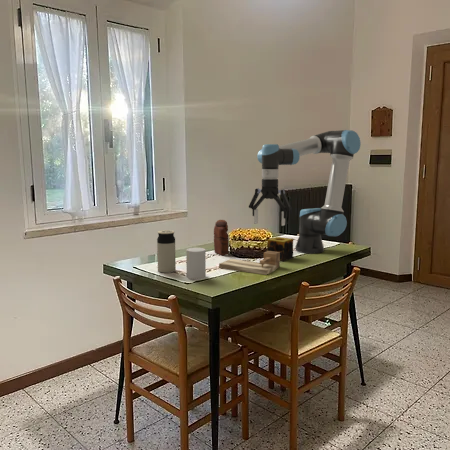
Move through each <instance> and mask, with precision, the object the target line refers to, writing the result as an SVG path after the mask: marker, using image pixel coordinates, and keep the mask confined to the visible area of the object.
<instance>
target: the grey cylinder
mask: <svg viewBox="0 0 450 450" xmlns="http://www.w3.org/2000/svg"><path fill="white" fill-rule="evenodd" d="M206 253H207V252H206V249H205V248H203V247H189V248H186V253H185V254H186V256H185V257H186V264H185V266H186V278H187V279H189V280H193V279H194V280H195V281H196V280H203V279H206V275H207V274H206V270H207V269H206V268H207V267H206V266H207V265H206V260H207V259H206Z"/></svg>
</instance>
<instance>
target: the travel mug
mask: <svg viewBox="0 0 450 450" xmlns="http://www.w3.org/2000/svg"><path fill="white" fill-rule="evenodd" d="M174 234H175V230H172V229H163V230H158V231H157V235H158V236H157V239H156V248H157V249H156V250H157V253H156V254H157V272H159V273H162V274H163V273H164V274H166V273H173V272H175V271H176V262H177V261H176V237H175V235H174Z"/></svg>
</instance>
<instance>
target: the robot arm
mask: <svg viewBox="0 0 450 450" xmlns="http://www.w3.org/2000/svg"><path fill="white" fill-rule="evenodd" d="M361 143H362V142H361V138H360V136H359V134H358V132H356V131H354V130H350V129H343V130H328V131H325V132H321V133H318V134H314V135H311V136H310V137H309V138H307V139H302V140H298V141H295V142H294V141H293V142H291V143H290V142H289V143H286V144H281V145H279V144H277V143H273V144H272V143H270V144H269V143H268V144H267V143H266V144H263V145H262V148H261V149H260V150H259V151H258V152H257V155H256V156H257V157H256V158H257V161H258V162H259V163H260V164H261V178H262V179H261V188H259V187H258V188H255V189H254V194H253V197H252V198H251V201H250V202H249V205H248V208H249V209H251V211H252V217H254V218H253V223H254V224H255V225H256V224H258V223H259V209H258V207H259V206H260V205H261V203H263V201H264V200H265V199H266V200H274V201H275V202H276V203H277V204H278V205H279V207H280V208H281V210H282V211H281V227H283V226H285V225H286V219H288V212H289V211H291V210H292V206H291V204H290V201H289V200H288V197H287V195H286V190H285V189H279V179H278V178H279V166H292V165H296V164H298V163H299V161H300V157H302V156H306V155H309V154H310V155H311V154H313V155H317V154H329V155H330V158H331V165H330V172H329V177H328V182H327V183H328V184H327V189H326V193H325V194H326V195H325V201H324V205H323V206H322V207H315V208H304V209H303V208H302V209H301V210H300V211H299V220H298V221H299V223H298V224H299V226H298V227H299V228H298V231H299V233H298V238H297V241H296V244H295V251H296V252H298V253H301V254H321V253H323V252H324V251H325V248H324V247H325V246H324V243H323V240H322V235H325V236H327V237H338V236H340V235H341V234H343V233H344V231H345V230H346V228H347V226H348V225H347V224H348V222H347V218H346V216H345V215H344V212H345V211H344V210H343V207H342V206H343V199H344V194H345V189H346V188H345V187H346V183H347V179H348V171H349V166H350V161H352V160H353V159H354V155H355V154H357V153H358V152H359V151H360V149H361ZM260 194H261V196H260V197H259V195H260ZM278 194H279V195H280V196H279V195H278ZM258 197H259V199H258ZM280 197H281V198H280ZM257 199H258V200H257Z"/></svg>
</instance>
